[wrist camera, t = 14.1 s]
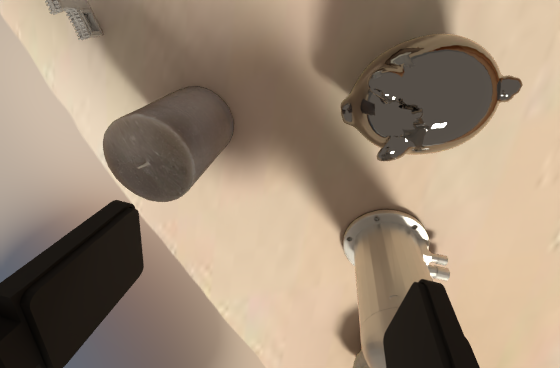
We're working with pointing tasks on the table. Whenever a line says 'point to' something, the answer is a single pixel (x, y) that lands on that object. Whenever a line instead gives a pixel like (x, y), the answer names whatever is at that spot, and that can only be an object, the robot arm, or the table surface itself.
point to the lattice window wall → (78, 16)
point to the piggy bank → (427, 95)
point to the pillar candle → (168, 143)
